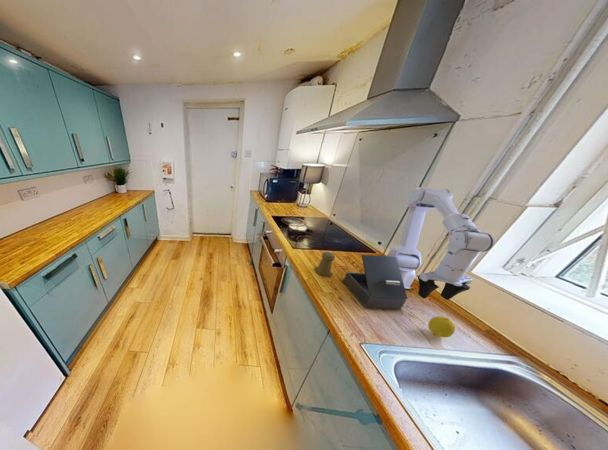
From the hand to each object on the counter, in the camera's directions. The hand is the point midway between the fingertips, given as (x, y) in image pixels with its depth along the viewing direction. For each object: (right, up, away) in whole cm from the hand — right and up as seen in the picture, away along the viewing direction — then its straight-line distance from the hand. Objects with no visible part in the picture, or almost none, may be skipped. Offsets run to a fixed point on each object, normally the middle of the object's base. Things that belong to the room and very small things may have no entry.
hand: (432, 297), depth 70 cm
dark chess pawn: (-23, +2, +28) cm, 36 cm away
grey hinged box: (-10, -4, +15) cm, 19 cm away
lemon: (-2, -12, -2) cm, 13 cm away
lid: (-10, +5, +8) cm, 14 cm away
